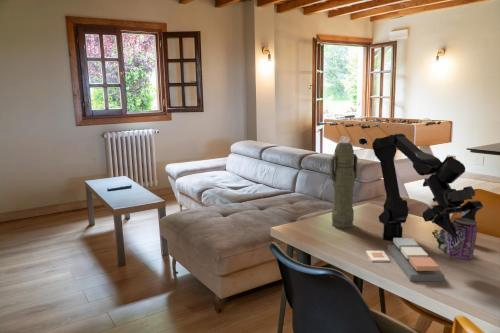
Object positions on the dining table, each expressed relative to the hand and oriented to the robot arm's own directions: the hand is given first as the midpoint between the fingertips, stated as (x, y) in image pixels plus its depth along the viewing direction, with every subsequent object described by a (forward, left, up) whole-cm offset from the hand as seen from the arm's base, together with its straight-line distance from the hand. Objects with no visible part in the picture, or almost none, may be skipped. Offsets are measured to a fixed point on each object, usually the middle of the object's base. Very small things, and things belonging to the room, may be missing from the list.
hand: (466, 235), depth 124 cm
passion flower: (-1, +20, -13) cm, 24 cm away
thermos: (-38, +41, -13) cm, 57 cm away
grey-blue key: (-15, +14, -10) cm, 23 cm away
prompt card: (-25, +10, -13) cm, 30 cm away
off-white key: (-13, +6, -10) cm, 18 cm away
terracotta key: (-12, -2, -10) cm, 15 cm away
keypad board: (-13, +6, -13) cm, 20 cm away
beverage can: (-1, 0, -8) cm, 8 cm away
